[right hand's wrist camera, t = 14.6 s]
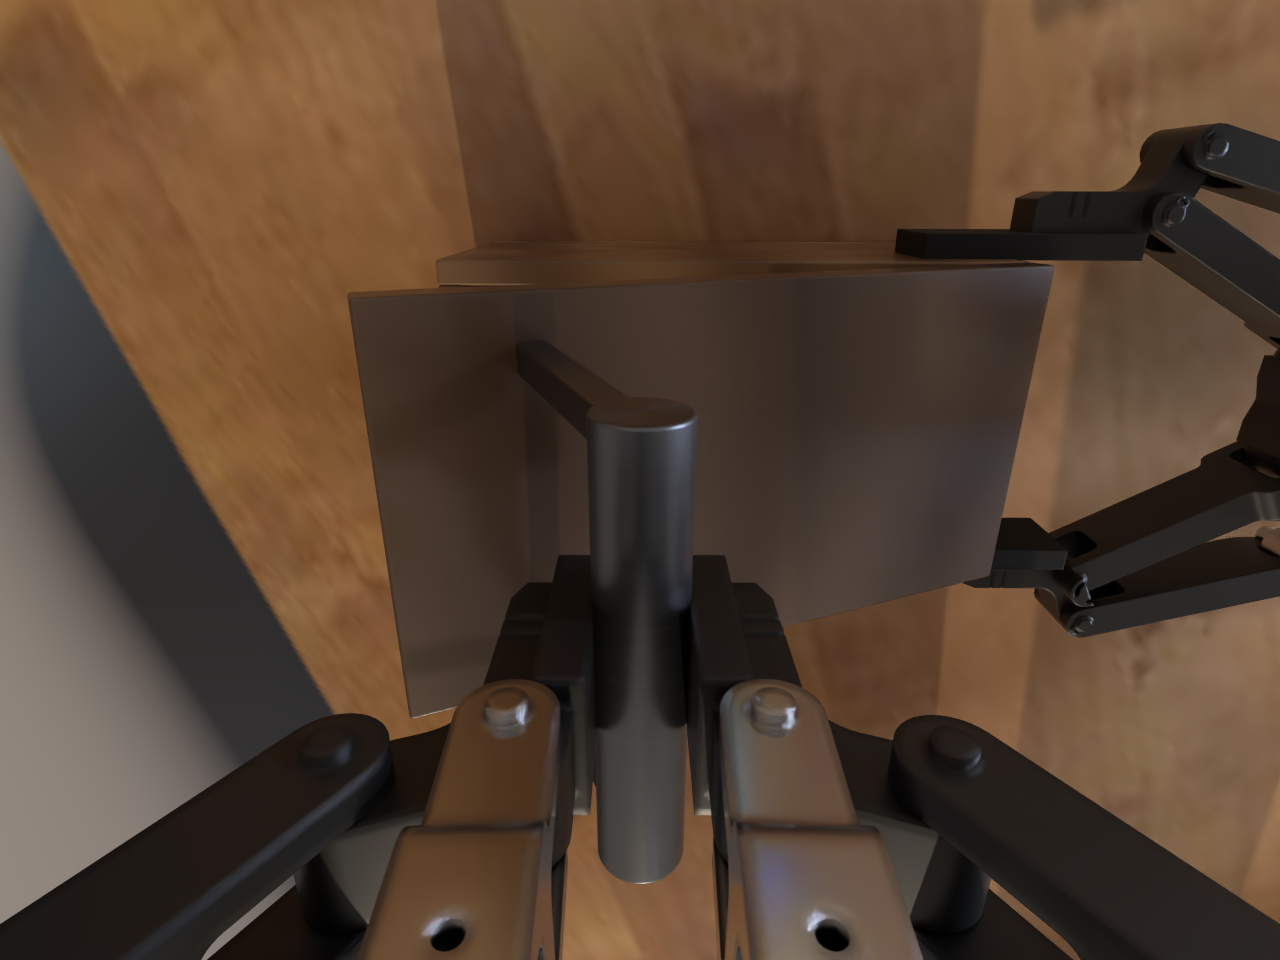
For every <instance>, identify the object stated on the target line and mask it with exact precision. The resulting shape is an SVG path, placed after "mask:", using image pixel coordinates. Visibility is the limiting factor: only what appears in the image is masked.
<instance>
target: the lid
mask: <svg viewBox="0 0 1280 960" xmlns="http://www.w3.org/2000/svg"><path fill="white" fill-rule="evenodd" d="M1053 272H1054V266H1053V265H1047V264H1038V263H1028V262H1023V263H1000V264H978V265H955V266H932V267H910V268H887V269H864V270H842V271H819V272H796V273H774V274H751V275H728V276H706V277H683V278H661V279H638V280H615V281H593V282H570V283H547V284H525V285H502V286H479V287H457V288H434V289H411V290H389V291H366V292H350V293H348V296H347V297H348V304H349V311H350V317H351V324H352V331H353V338H354V344H355V351H356V358H357V365H358V371H359V378H360V385H361V392H362V398H363V405H364V412H365V419H366V426H367V432H368V439H369V446H370V453H371V459H372V466H373V473H374V480H375V486H376V493H377V500H378V507H379V513H380V520H381V527H382V534H383V541H384V547H385V554H386V561H387V568H388V574H389V581H390V588H391V595H392V601H393V608H394V615H395V622H396V628H397V635H398V642H399V649H400V656H401V662H402V669H403V676H404V683H405V689H406V696H407V702H408V708H409V715H410V717H411V718H417V717H421V716H425V715H430V714H434V713H438V712H442V711H446V710H450V709H454V708H456V707H457V706H458V704H459V703H460V701H461V700H462V699H463V698H464V697H465V696H467V695H468V694H469V693H471V692H472V691H474V690H475V689H477V688H479V687H481V686H483V684H484V681H485V678H486V675H487V672H488V669H489V665H490V662H491V659H492V656H493V653H494V650H495V647H496V644H497V640H498V637H499V636H500V631H501V628H502V625H503V622H504V620H505V615H506V612H507V609H508V606H509V603H510V600H511V598H512V597H513V596H514V595H515V594H516V593H517V592H518V591H519V590H520V589H522V588H523V587H524V586H525V585H526V584H527V583H535V582H553V577H554V573H555V568H556V564H557V559H558V556H559V555H590V573H591V600H592V603H593V605H594V635H595V671H596V707H597V733H596V746H595V759H594V771H593V781H594V784H595V786H596V793H597V830H598V852H599V856H600V859H601V861H602V863H603V865H604V866H605V867H606V869H607V870H608V871H609V872H610V873H611V874H612V875H614V876H615V877H617V878H618V879H620V880H623V881H625V882H629V883H634V884H648V883H653V882H656V881H659V880H661V879H663V878H665V877H666V876H668V875H669V874H670V873H671V872H672V871H673V870H674V869H675V868H676V866H677V865H678V863H679V862H680V860H681V857H682V853H683V837H684V808H685V778H686V748H687V723H686V721H687V689H688V657H689V625H690V603H691V599H692V569H693V555H725V557H726V561H727V565H728V569H729V574H730V578H731V582H732V583H757V584H758V585H759V586H760V587H761V588H762V589H763V590H764V591H765V592H766V593H768V594H769V595H770V596H771V597H772V598H773V600H774V603H775V606H776V609H777V612H778V616H779V620H780V622H781V625H782V627H785V626H789V625H793V624H797V623H801V622H805V621H809V620H813V619H817V618H821V617H825V616H829V615H833V614H837V613H841V612H845V611H849V610H853V609H857V608H861V607H865V606H869V605H873V604H877V603H882V602H886V601H890V600H894V599H898V598H902V597H906V596H910V595H914V594H918V593H922V592H926V591H930V590H934V589H938V588H942V587H946V586H950V585H954V584H958V583H962V582H966V581H970V580H974V579H978V578H982V577H986V576H989V575H990V570H991V566H992V561H993V556H994V551H995V547H996V542H997V537H998V532H999V528H1000V523H1001V518H1002V514H1003V509H1004V504H1005V499H1006V495H1007V490H1008V485H1009V480H1010V476H1011V471H1012V466H1013V461H1014V457H1015V452H1016V447H1017V442H1018V438H1019V433H1020V428H1021V423H1022V419H1023V414H1024V409H1025V404H1026V400H1027V395H1028V390H1029V386H1030V381H1031V376H1032V371H1033V367H1034V362H1035V357H1036V352H1037V348H1038V343H1039V338H1040V333H1041V329H1042V324H1043V319H1044V314H1045V310H1046V305H1047V300H1048V295H1049V291H1050V286H1051V281H1052V276H1053Z"/></svg>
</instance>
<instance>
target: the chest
mask: <svg viewBox="0 0 1280 960" xmlns="http://www.w3.org/2000/svg"><path fill="white" fill-rule="evenodd" d="M895 245H896V242H742V241H493V242H492V243H490V244H486V245H483V246H480V247H477V248H474V249H470V250H467V251H464V252H461V253H458V254H454V255H451V256H448V257H445V258H442V259H438V260H437V261H436V267H437V277H438V283H439V285H440V286H439V288H457V287H479V286H502V285H525V284H547V283H570V282H593V281H615V280H638V279H661V278H683V277H706V276H728V275H751V274H774V273H796V272H819V271H842V270H864V269H887V268H910V267H932V266H955V265H978V264H1000V263H1023V262H1027V261H1021V260H1016V259H921V258H917V257H913V256H909V255H905V254H901V253H897V252H895ZM1028 263H1029V262H1028Z"/></svg>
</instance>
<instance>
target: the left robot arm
mask: <svg viewBox="0 0 1280 960" xmlns="http://www.w3.org/2000/svg"><path fill="white" fill-rule="evenodd" d="M1140 162H1141V165H1140V167H1139V169H1138V170H1137V172H1136V174H1135V175H1134V177H1133V178H1132V179H1131V180H1130V181H1129V182H1128V183H1127V184H1126V185H1125V186H1123V187H1122V188H1120V189H1117V190H1115V191H1109V192H1030V193H1028V194H1025V195H1023V196H1020V197H1018V198H1016V199H1015V204H1014V210H1013V215H1012V220H1011V226H1010V229H897V237H896V245H895V252H897V253H901V254H905V255H909V256H913V257H917V258H921V259H1016V260H1097V261H1142V258H1143V254H1144V253H1146V254H1147V255H1149V256H1150V257H1152V258H1153V259H1155V260H1156V261H1158V262H1159V263H1161V264H1162V265H1163V266H1165V267H1166V268H1168V269H1169V270H1171V271H1172V272H1174V273H1175V274H1177V275H1178V276H1180V277H1181V278H1182V279H1184V280H1185V281H1187V282H1188V283H1190V284H1191V285H1193V286H1194V287H1196V288H1197V289H1199V290H1200V291H1201V292H1203V293H1204V294H1206V295H1207V296H1209V297H1210V298H1212V299H1213V300H1215V301H1216V302H1218V303H1219V304H1220V305H1222V306H1223V307H1225V308H1226V309H1228V310H1229V311H1231V312H1232V313H1234V314H1235V315H1237V316H1238V317H1239V318H1241V319H1242V320H1244V321H1245V323H1244V325H1245V326H1246V327H1247V328H1248V329H1249V330H1251V331H1252V332H1254V333H1255V334H1257V335H1258V336H1260V337H1261V338H1263V339H1264V340H1266V341H1267V342H1269V343H1270V344H1271V345H1273V346H1274V347H1276V348H1277V351H1276V352H1275V354H1274V355H1264V358H1263V361H1262V364H1261V367H1260V370H1259V373H1258V376H1257V392H1256V400H1255V401H1254V403H1253V405H1252V406H1251V408H1250V410H1249V411H1248V413H1247V414H1246V416H1245V418H1244V419H1243V422H1242V425H1241V428H1240V431H1239V434H1238V437H1237V442H1235V443H1232V444H1230V445H1228V446H1226V447H1223V448H1221V449H1219V450H1216V451H1214V452H1212V453H1210V454H1207V455H1206V456H1204V457H1203V458H1202V459H1201V465H1200V466H1199V467H1198V468H1196V469H1194V470H1191V471H1189V472H1187V473H1185V474H1182V475H1180V476H1178V477H1175V478H1173V479H1171V480H1169V481H1166V482H1164V483H1162V484H1160V485H1157V486H1155V487H1153V488H1150V489H1148V490H1146V491H1144V492H1141V493H1139V494H1137V495H1135V496H1132V497H1130V498H1128V499H1125V500H1123V501H1121V502H1119V503H1116V504H1114V505H1112V506H1110V507H1107V508H1105V509H1103V510H1100V511H1098V512H1096V513H1094V514H1091V515H1089V516H1087V517H1085V518H1082V519H1080V520H1078V521H1075V522H1073V523H1071V524H1069V525H1066V526H1064V527H1062V528H1060V529H1057V530H1055V531H1053V532H1050V533H1047V532H1046V531H1045V530H1044V529H1043V528H1041V527H1040V526H1039V525H1038V524H1037V523H1036V522H1034V521H1033V520H1032V519H1031V518H1001V523H1000V528H999V532H998V537H997V542H996V547H995V551H994V556H993V561H992V566H991V570H990V575H989V576H986V577H982V578H978V579H974V580H970V581H966V582H962V583H964V584H967V585H969V586H972V587H974V588H990V587H992V588H1001V587H1003V588H1035V590H1034V595H1035V598H1036V599H1037V600H1038V601H1039V602H1040V603H1041V604H1042V605H1043V606H1044V607H1045V608H1046V610H1047V611H1048V612H1049V613H1050V614H1051V615H1052V616H1053V617H1054V618H1055V619H1056V620H1057V621H1058V622H1059V623H1060V624H1061V625H1062V626H1063V628H1064V629H1065V630H1066V631H1067V632H1068V633H1069V634H1070V635H1072V636H1074V637H1087V636H1092V635H1096V634H1101V633H1106V632H1111V631H1116V630H1120V629H1125V628H1130V627H1135V626H1139V625H1144V624H1149V623H1154V622H1159V621H1163V620H1168V619H1173V618H1178V617H1182V616H1187V615H1192V614H1197V613H1202V612H1206V611H1211V610H1216V609H1221V608H1225V607H1230V606H1235V605H1240V604H1245V603H1249V602H1254V601H1259V600H1264V599H1268V598H1273V597H1278V596H1280V528H1277V529H1274V530H1273V529H1271V528H1270V527H1266V526H1264V527H1261V528H1260V529H1258V530H1257V531H1256V533H1255V537H1235V538H1227V539H1221V540H1216V541H1211V542H1207V541H1209V540H1212V539H1214V538H1216V537H1219V536H1221V535H1224V534H1226V533H1228V532H1231V531H1233V530H1236V529H1238V528H1240V527H1243V526H1245V525H1248V524H1250V523H1252V522H1255V521H1258V520H1268V521H1280V260H1279V259H1278V258H1276V257H1275V256H1274V255H1272V254H1271V253H1269V252H1268V251H1267V250H1265V249H1264V248H1262V247H1261V246H1260V245H1258V244H1257V243H1255V242H1254V241H1253V240H1251V239H1250V238H1248V237H1247V236H1246V235H1244V234H1243V233H1241V232H1240V231H1239V230H1237V229H1236V228H1234V227H1233V226H1232V225H1230V224H1229V223H1227V222H1226V221H1225V220H1223V219H1222V218H1220V217H1219V216H1218V215H1216V214H1215V213H1213V212H1212V211H1211V210H1209V209H1208V208H1206V207H1205V206H1204V205H1202V204H1201V203H1199V202H1198V201H1197V200H1195V199H1194V197H1195V195H1196V194H1197V192H1198V190H1199V189H1200V188H1203V189H1206V190H1209V191H1212V192H1215V193H1218V194H1221V195H1224V196H1227V197H1230V198H1233V199H1236V200H1239V201H1243V202H1246V203H1249V204H1252V205H1255V206H1258V207H1261V208H1264V209H1267V210H1270V211H1273V212H1276V213H1279V214H1280V141H1277V140H1274V139H1271V138H1268V137H1265V136H1262V135H1259V134H1256V133H1253V132H1250V131H1247V130H1244V129H1241V128H1238V127H1235V126H1232V125H1229V124H1222V123H1217V124H1208V125H1200V126H1192V127H1184V128H1175V129H1167V130H1161V131H1158V132H1155V133H1153V134H1152V135H1151V136H1149V137H1148V138H1147V139H1146V141H1145V142H1144V144H1143V145H1142V148H1141V151H1140ZM1205 542H1207V543H1205Z"/></svg>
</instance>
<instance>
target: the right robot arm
mask: <svg viewBox="0 0 1280 960" xmlns="http://www.w3.org/2000/svg"><path fill="white" fill-rule="evenodd" d="M686 723H687V735H688V747H689V758H690V770H691V781H692V793H693V805H694V815H711V816H712V825H713V834H714V836H713V856H712V870H713V887H714V904H715V921H716V938H717V954H718V960H1073V959H1072V958H1070V957H1069V956H1068V955H1067V954H1066V953H1064V952H1063V951H1062V950H1061V949H1060V948H1059V947H1057V946H1056V945H1055V944H1054V943H1053V942H1051V941H1050V940H1049V939H1048V938H1047V937H1046V936H1044V935H1043V934H1042V933H1041V932H1040V931H1038V930H1037V929H1036V928H1035V927H1034V926H1033V925H1031V924H1030V923H1029V922H1028V921H1027V920H1025V919H1024V918H1023V917H1022V916H1021V915H1020V914H1018V913H1017V912H1016V911H1015V910H1014V909H1012V908H1011V907H1010V906H1009V905H1008V904H1007V903H1005V902H1004V901H1003V900H1002V899H1001V898H999V897H998V896H997V895H996V894H995V893H994V892H992V891H991V890H990V889H989V885H990V881H991V878H992V879H993V880H994V881H995V882H997V883H998V884H999V885H1000V886H1001V887H1003V888H1004V889H1005V890H1006V891H1007V892H1009V893H1010V894H1011V895H1012V896H1013V897H1015V898H1016V899H1017V900H1018V901H1019V902H1021V903H1022V904H1023V905H1024V906H1025V907H1027V908H1028V909H1029V910H1030V911H1031V912H1033V913H1034V914H1035V915H1036V916H1037V917H1039V918H1040V919H1041V920H1042V921H1043V922H1045V923H1046V924H1047V925H1048V926H1049V927H1051V928H1052V929H1053V930H1054V931H1055V932H1057V933H1058V934H1059V935H1060V936H1061V937H1062V938H1064V939H1065V940H1066V941H1067V942H1068V943H1069V945H1070V946H1071V947H1072V948H1073V949H1074V950H1075V952H1076V953H1077V954H1078V956H1079V957H1080V959H1081V960H1280V924H1279V923H1277V922H1276V921H1274V920H1273V919H1271V918H1270V917H1268V916H1267V915H1265V914H1264V913H1262V912H1260V911H1259V910H1257V909H1256V908H1254V907H1253V906H1251V905H1250V904H1248V903H1247V902H1245V901H1244V900H1242V899H1241V898H1239V897H1238V896H1236V895H1235V894H1233V893H1232V892H1230V891H1229V890H1227V889H1225V888H1224V887H1222V886H1221V885H1219V884H1218V883H1216V882H1215V881H1213V880H1212V879H1210V878H1209V877H1207V876H1206V875H1204V874H1203V873H1201V872H1200V871H1198V870H1197V869H1195V868H1193V867H1192V866H1190V865H1189V864H1187V863H1186V862H1184V861H1183V860H1181V859H1180V858H1178V857H1177V856H1175V855H1174V854H1172V853H1171V852H1169V851H1168V850H1166V849H1165V848H1163V847H1162V846H1160V845H1158V844H1157V843H1155V842H1154V841H1152V840H1151V839H1149V838H1148V837H1146V836H1145V835H1143V834H1142V833H1140V832H1139V831H1137V830H1136V829H1134V828H1133V827H1131V826H1130V825H1128V824H1126V823H1125V822H1123V821H1122V820H1120V819H1119V818H1117V817H1116V816H1114V815H1113V814H1111V813H1110V812H1108V811H1107V810H1105V809H1104V808H1102V807H1101V806H1099V805H1098V804H1096V803H1095V802H1093V801H1091V800H1090V799H1088V798H1087V797H1085V796H1084V795H1082V794H1081V793H1079V792H1078V791H1076V790H1075V789H1073V788H1072V787H1070V786H1069V785H1067V784H1066V783H1064V782H1063V781H1061V780H1059V779H1058V778H1056V777H1055V776H1053V775H1052V774H1050V773H1049V772H1047V771H1046V770H1044V769H1043V768H1041V767H1040V766H1038V765H1037V764H1035V763H1034V762H1032V761H1031V760H1029V759H1028V758H1026V757H1024V756H1023V755H1021V754H1020V753H1018V752H1017V751H1015V750H1014V749H1012V748H1011V747H1009V746H1008V745H1006V744H1005V743H1003V742H1002V741H1000V740H999V739H997V738H996V737H994V736H992V735H991V734H989V733H988V732H986V731H984V730H983V729H981V728H979V727H977V726H975V725H973V724H971V723H968V722H965V721H963V720H960V719H956V718H952V717H947V716H940V715H924V716H918V717H913V718H911V719H909V720H906V721H905V722H903V723H902V724H901V725H900V726H899V727H898V728H897V729H896V731H895V733H894V738H893V740H889V739H885V738H880V737H876V736H872V735H867V734H863V733H859V732H855V731H852V730H849V729H846V728H844V727H841V726H839V725H837V724H835V723H833V722H831V721H830V720H828V718H827V715H826V712H825V710H824V707H823V706H822V704H821V703H820V702H819V701H818V699H817V698H816V697H815V696H813V695H812V694H811V693H809V692H808V691H806V690H805V689H803V688H802V686H801V683H800V680H799V677H798V673H797V670H796V667H795V664H794V661H793V658H792V655H791V652H790V649H789V646H788V643H787V640H786V637H785V636H784V631H783V628H782V625H781V622H780V620H779V616H778V612H777V609H776V606H775V603H774V600H773V598H772V597H771V596H770V595H769V594H768V593H766V592H765V591H764V590H763V589H762V588H761V587H760V586H759V585H758V584H757V583H732V582H731V578H730V574H729V569H728V565H727V561H726V557H725V555H693V569H692V599H691V603H690V625H689V657H688V689H687V721H686ZM596 733H597V707H596V671H595V635H594V605H593V603H592V600H591V573H590V555H559V556H558V559H557V564H556V568H555V573H554V577H553V582H535V583H527V584H526V585H525V586H524V587H523V588H522V589H520V590H519V591H518V592H517V593H516V594H515V595H514V596H513V597H512V598H511V600H510V603H509V606H508V609H507V612H506V615H505V620H504V622H503V625H502V628H501V631H500V636H499V637H498V640H497V644H496V647H495V650H494V653H493V656H492V659H491V662H490V665H489V669H488V672H487V675H486V678H485V681H484V684H483V686H481V687H479V688H477V689H475V690H474V691H472V692H471V693H469V694H468V695H467V696H465V697H464V698H463V699H462V700H461V701H460V703H459V704H458V706H457V707H456V710H455V712H454V715H453V718H452V721H451V723H450V724H448V725H446V726H443V727H441V728H438V729H436V730H433V731H429V732H426V733H422V734H417V735H413V736H409V737H404V738H400V739H396V740H391V741H390V739H389V733H388V731H387V729H386V727H385V726H384V725H383V723H382V722H380V721H379V720H377V719H376V718H373V717H371V716H368V715H363V714H354V713H348V714H338V715H332V716H328V717H324V718H321V719H318V720H315V721H313V722H310V723H308V724H306V725H304V726H302V727H300V728H299V729H297V730H295V731H294V732H292V733H291V734H289V735H288V736H286V737H285V738H283V739H281V740H280V741H278V742H277V743H275V744H274V745H272V746H271V747H269V748H268V749H266V750H265V751H263V752H262V753H260V754H259V755H257V756H256V757H254V758H253V759H251V760H250V761H248V762H246V763H245V764H243V765H242V766H240V767H239V768H237V769H236V770H234V771H233V772H231V773H230V774H228V775H227V776H225V777H224V778H222V779H221V780H219V781H218V782H216V783H214V784H213V785H211V786H210V787H208V788H207V789H205V790H204V791H202V792H201V793H199V794H198V795H196V796H195V797H193V798H192V799H190V800H189V801H187V802H186V803H184V804H182V805H181V806H179V807H178V808H176V809H175V810H173V811H172V812H170V813H169V814H167V815H166V816H164V817H163V818H161V819H160V820H158V821H157V822H155V823H154V824H152V825H151V826H149V827H147V828H146V829H144V830H143V831H141V832H140V833H138V834H137V835H135V836H134V837H132V838H131V839H129V840H128V841H126V842H125V843H123V844H122V845H120V846H119V847H117V848H115V849H114V850H112V851H111V852H109V853H108V854H106V855H105V856H103V857H102V858H100V859H99V860H97V861H96V862H94V863H93V864H91V865H90V866H88V867H87V868H85V869H83V870H82V871H80V872H79V873H77V874H76V875H74V876H73V877H71V878H70V879H68V880H67V881H65V882H64V883H62V884H61V885H59V886H58V887H56V888H55V889H53V890H52V891H50V892H49V893H47V894H45V895H44V896H42V897H41V898H39V899H38V900H36V901H35V902H33V903H32V904H30V905H29V906H27V907H26V908H24V909H23V910H21V911H20V912H18V913H17V914H15V915H13V916H12V917H10V918H9V919H7V920H6V921H4V922H3V923H1V924H0V960H201V959H202V957H203V956H204V954H205V953H206V951H207V950H208V948H209V947H210V946H211V945H212V943H213V942H214V941H215V940H216V939H217V938H218V937H219V936H220V935H221V934H222V933H223V932H225V931H226V930H227V929H228V928H229V927H231V926H232V925H233V924H234V923H235V922H237V921H238V920H239V919H240V918H241V917H243V916H244V915H245V914H246V913H247V912H249V911H250V910H251V909H252V908H253V907H255V906H256V905H257V904H258V903H259V902H261V901H262V900H263V899H264V898H265V897H267V896H268V895H269V894H270V893H271V892H272V891H274V890H275V889H276V888H277V887H279V886H280V885H281V884H282V883H283V882H285V881H286V880H287V879H288V878H289V877H291V876H292V875H293V874H294V878H295V882H296V885H295V886H294V887H292V888H291V889H290V890H289V891H288V892H286V893H285V894H284V895H283V896H282V897H281V898H279V899H278V900H277V901H276V902H275V903H273V904H272V905H271V906H270V907H269V908H268V909H266V910H265V911H264V912H263V913H262V914H261V915H259V916H258V917H257V918H256V919H255V920H253V921H252V922H251V923H250V924H249V925H247V926H246V927H245V928H244V929H243V930H242V931H240V932H239V933H238V934H237V935H236V936H235V937H233V938H232V939H231V940H230V941H229V942H227V943H226V944H225V945H224V946H223V947H222V948H220V949H219V950H218V951H217V952H216V953H214V954H213V955H212V956H211V957H210V958H209V959H207V960H562V954H563V937H564V920H565V903H566V887H567V870H568V856H567V848H568V846H569V843H570V839H571V832H572V822H573V815H590V809H591V797H592V784H593V771H594V759H595V746H596Z"/></svg>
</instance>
